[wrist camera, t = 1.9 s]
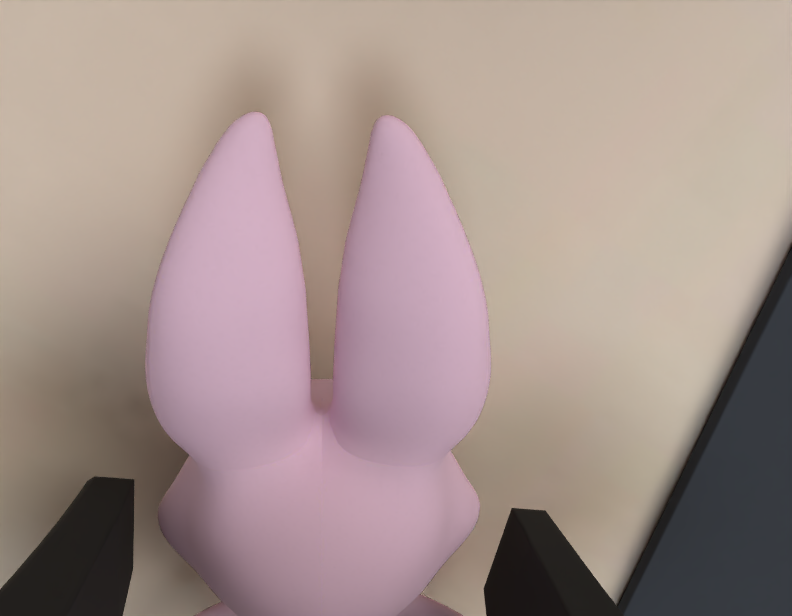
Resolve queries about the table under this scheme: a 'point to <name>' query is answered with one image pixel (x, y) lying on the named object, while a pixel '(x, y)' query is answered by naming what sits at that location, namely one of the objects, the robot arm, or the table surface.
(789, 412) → the desk mat
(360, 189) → the rabbit figure
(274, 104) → the table surface
